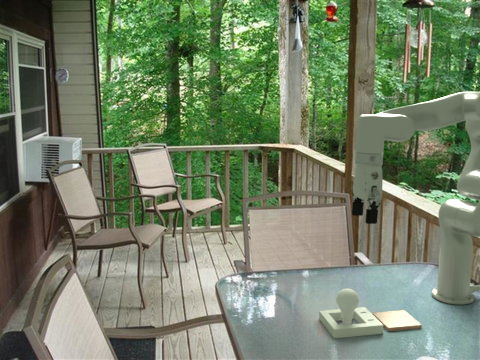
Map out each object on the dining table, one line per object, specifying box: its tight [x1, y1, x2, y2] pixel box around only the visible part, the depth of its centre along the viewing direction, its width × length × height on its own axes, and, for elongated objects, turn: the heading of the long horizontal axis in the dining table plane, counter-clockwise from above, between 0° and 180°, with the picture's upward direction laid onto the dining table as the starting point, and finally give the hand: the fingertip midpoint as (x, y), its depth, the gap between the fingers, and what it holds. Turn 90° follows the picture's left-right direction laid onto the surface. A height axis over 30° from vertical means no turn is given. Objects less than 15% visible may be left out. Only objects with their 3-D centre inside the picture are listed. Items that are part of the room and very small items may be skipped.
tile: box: [371, 309, 423, 332], centre depth 148 cm, size 10×10×1 cm
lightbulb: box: [335, 288, 360, 325], centre depth 145 cm, size 6×6×11 cm
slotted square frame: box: [318, 306, 384, 339], centre depth 146 cm, size 14×12×3 cm
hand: (363, 219), depth 147 cm, fingers open, 9 cm apart
